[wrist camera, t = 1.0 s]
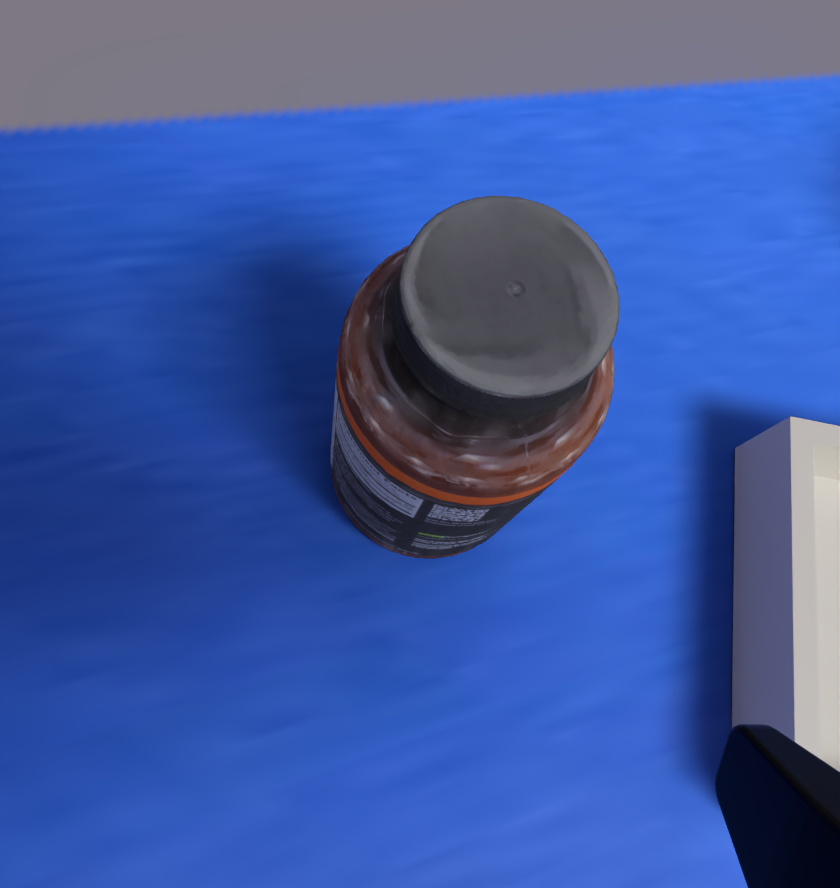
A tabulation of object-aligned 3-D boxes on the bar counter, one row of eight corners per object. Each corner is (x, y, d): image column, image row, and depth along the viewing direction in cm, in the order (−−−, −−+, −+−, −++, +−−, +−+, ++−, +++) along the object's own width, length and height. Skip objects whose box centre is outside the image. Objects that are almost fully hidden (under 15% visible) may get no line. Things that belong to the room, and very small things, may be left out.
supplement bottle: (461, 353, 25) (576, 106, 15) (549, 512, 24) (744, 368, 13) (295, 423, 24) (288, 203, 13) (379, 597, 23) (448, 510, 12)
